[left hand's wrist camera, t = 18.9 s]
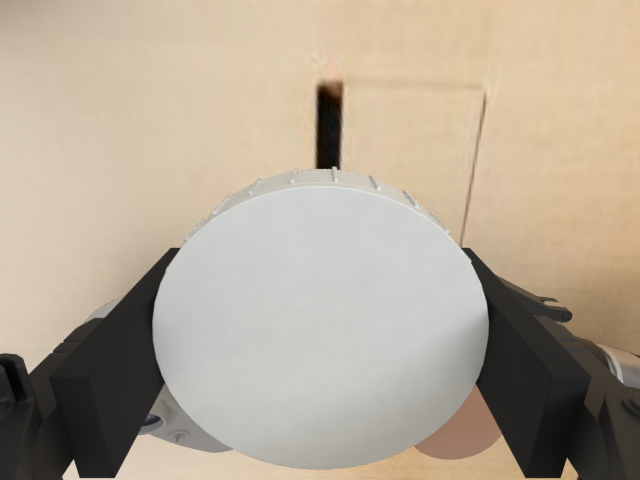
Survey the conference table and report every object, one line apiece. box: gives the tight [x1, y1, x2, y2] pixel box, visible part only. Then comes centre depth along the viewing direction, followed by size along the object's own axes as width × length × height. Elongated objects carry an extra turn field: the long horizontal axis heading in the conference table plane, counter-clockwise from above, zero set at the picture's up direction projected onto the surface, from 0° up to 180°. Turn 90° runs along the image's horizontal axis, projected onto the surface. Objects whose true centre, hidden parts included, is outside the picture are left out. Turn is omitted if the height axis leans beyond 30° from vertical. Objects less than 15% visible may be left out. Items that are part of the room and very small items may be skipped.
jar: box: [414, 384, 502, 459], centre depth 36 cm, size 8×8×18 cm
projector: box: [84, 296, 232, 453], centre depth 39 cm, size 22×23×15 cm
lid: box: [152, 167, 489, 470], centre depth 11 cm, size 9×9×2 cm
